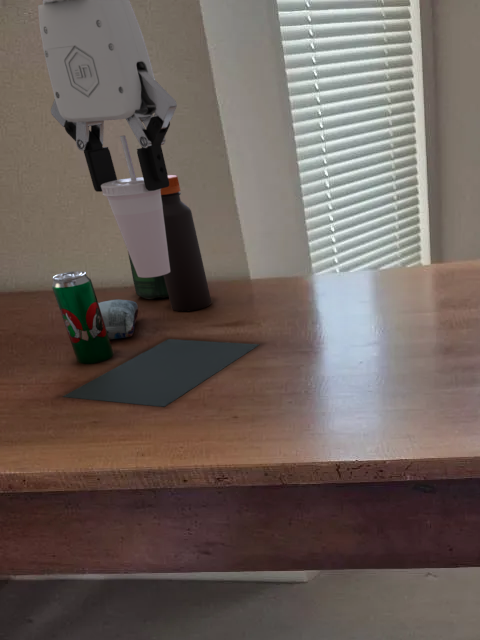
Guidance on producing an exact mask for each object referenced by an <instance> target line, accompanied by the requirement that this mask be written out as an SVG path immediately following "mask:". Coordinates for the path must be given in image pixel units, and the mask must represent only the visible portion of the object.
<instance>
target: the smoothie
mask: <svg viewBox="0 0 480 640" xmlns="http://www.w3.org/2000/svg"><path fill="white" fill-rule="evenodd" d="M119 139H120V142H121V143H120V144H121V146H122V150H123V154H124V158H125V161H126V166H127V170H128V173H129V178H119V179H117V180H115V181H110V182H107V183H104V184H102V185H101V188H102V196H104V197H106V199H107V201H108V204H109V207H110V209H111V212H112V214H113V217H114V220H115V222H116V224H117V227H118V229H119V232H120V235H121V238H122V239H123V242H124V245H125V248H126V250H127V253H128V252H129V255H130V257H131V260H132V263H133V265H134V268H135V270H136V273H137V275H138V277H142V278H149V277H157V276H162V275H165V274H168V273H169V272H170V264H169V256H168V248H167V240H166V232H165V224H164V216H163V206H162V199H161V191H160V189H158V190H155V191H148V190H147V189H146V187H145V183H144V179H143V176H139V177H136V172H135V169H134V165H133V161H132V157H131V152H130V149H129V144H128V140H127V137H126V135H119ZM129 255H128V256H129Z"/></svg>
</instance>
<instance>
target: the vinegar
mask: <svg viewBox="0 0 480 640" xmlns="http://www.w3.org/2000/svg"><path fill="white" fill-rule="evenodd" d="M168 179H169V186H168V187H166V188H162V189H160V191H161V199H162V206H163V216H164V224H165V232H166V240H167V248H168V256H169V264H170V272H169V273H168V274H165V275H163V276H164V280H165V284H166V287H167V291H168V295H169V296H168V298H169V302H170V307H171V309H172V310H173V311H175V312H193V311H199V310H202V309H206V308H207V307H209V306H210V305H211V304H212V297H211V294H210V293H211V292H210V288H209V285H208V280H207V275H206V271H205V266H204V262H203V257H202V253H201V249H200V248H201V247H200V244H199V240H198V234H197V231H196V226H195V221H194V217H193V213H192V209H191V208H190V207H189V206H188V205H187V204H186V203H184V202H183V201H182V199H181V195H182V193H181V187H180V182H179V177H178V175H175V174H168Z"/></svg>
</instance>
